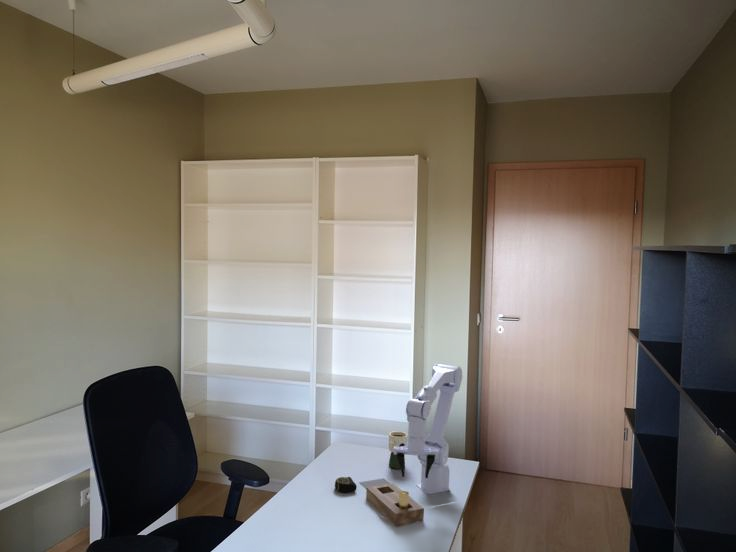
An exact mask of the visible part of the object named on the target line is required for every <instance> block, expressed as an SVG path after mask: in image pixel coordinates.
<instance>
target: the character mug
mask: <svg viewBox="0 0 736 552" xmlns="http://www.w3.org/2000/svg"><path fill="white" fill-rule="evenodd" d="M403 446H408V433H406V432H404V431H399V430H396V431H394V430H393V431H390V432H389V434H388V451H389V452H390V455H389V456H390V457H389V459H388V466H389V467H390V468H392V469H394V470H401V467H400V464H399V462H398V459H397V455H396V454H394V447H403ZM405 460H406V458H405V456H404V468H406V461H405Z"/></svg>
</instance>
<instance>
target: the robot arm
mask: <svg viewBox="0 0 736 552" xmlns="http://www.w3.org/2000/svg"><path fill="white" fill-rule="evenodd" d="M462 379H463V370H462V368H461V366H457V365H456V366H454V365H448V364H443V363H438V362H437V363H435V364H434V365H433V366H432V371H431V379H430V381H429V382H428V384H427V385H424V386H422V388H421V389H420V390H419V391H418V393H417V394H416V396H415V397H414V398H411V399H409V400H408V402H407V404H406V407H405V414H406V421H407V422H408V425H407V427H408V428H407V446H403V447H394V454H396V455H397V459H398V462H399V464H400V467H401V469H400V471H401V477H403V478H405V467H404V457H405V455H411V456H417V459H418V460H419V463H420V464H421V473H420V475H421V478H420V483H416V484H415V486H416V487H417V488H419V489H420V490H421V491H423V492H424V493H425V494H426V495H430V494H436V493H441V492H449V491H450V490H451V488H450V468H449V465H448V464H447V462H448V459H449V449H450V445H449V443H448V442H447V441H446V440H445V438H444V436H445V433H446V428H447V424H448V420H449V416H450V412H451V407H452V404H453V399H454V395H455V393H457V392H459V391H460V388H461V384H462ZM438 391H439V396H438V393H437V392H438ZM437 396H438V399H437ZM436 399H437V404H436V408H435V412H434V416H433V420H432V425H431V428H430V432H429V434H427V432H426V431H427V419H428V417H429V415H430V412H431V410H432V404H433V403H434V402H435V401H436ZM426 434H427V435H426Z"/></svg>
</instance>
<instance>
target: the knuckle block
mask: <svg viewBox="0 0 736 552" xmlns="http://www.w3.org/2000/svg"><path fill="white" fill-rule="evenodd" d="M389 483H390V482H389ZM400 491H403V490H402V489H401V488H400V487H398V485H396V484H395V483H394V482H391V483H390V484H384V485H378V486H372V487H367V490H366V497H365V498H366V500H368V501H369V503H371V505H373V507H375V508H376V509H377V510H378V511H379V512H381V514H382V515H383V517H384V518H385V519H386V520H388V522H390V524H392V525H393V526H394V527H395V528H396V527H401V526H406V525H411V524H415V523H420V522H424V519H425V518H424V513H425V508H424V507H423V506H422V505H420V503H418V502H417V501H416V500H415V499H413V498H412V497H411V496H409V500H408V509H403V510H400V509H399V492H400Z"/></svg>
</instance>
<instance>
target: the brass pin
mask: <svg viewBox="0 0 736 552" xmlns="http://www.w3.org/2000/svg"><path fill="white" fill-rule="evenodd" d="M409 493H410V492H409V491H408V490H407V491H406V490H402V491H400V492H399V509H400V510H403V509H408V500H409V497H410V494H409Z"/></svg>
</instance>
